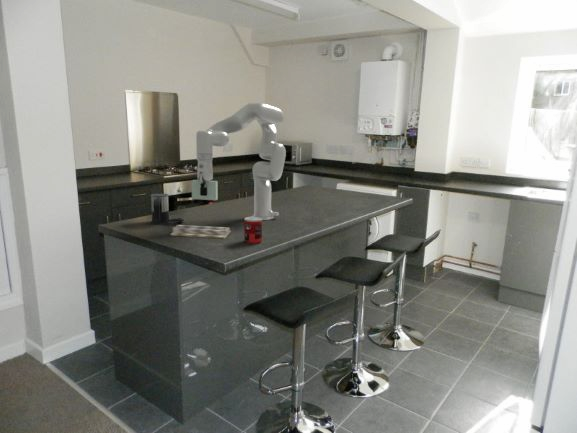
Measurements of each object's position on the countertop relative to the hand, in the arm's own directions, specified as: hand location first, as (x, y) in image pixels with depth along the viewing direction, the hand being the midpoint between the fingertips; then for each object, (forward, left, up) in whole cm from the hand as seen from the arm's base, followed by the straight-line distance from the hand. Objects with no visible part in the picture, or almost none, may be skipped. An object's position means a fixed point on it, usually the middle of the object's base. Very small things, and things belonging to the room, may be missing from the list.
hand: (204, 194), depth 205 cm
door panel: (0, 0, -2) cm, 2 cm away
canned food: (-27, +16, -18) cm, 37 cm away
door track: (0, +7, -18) cm, 19 cm away
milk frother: (+23, -10, -18) cm, 31 cm away
